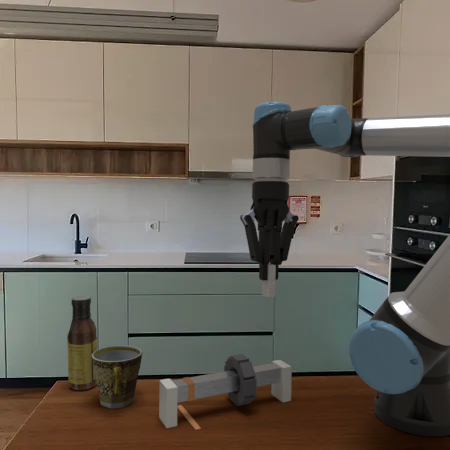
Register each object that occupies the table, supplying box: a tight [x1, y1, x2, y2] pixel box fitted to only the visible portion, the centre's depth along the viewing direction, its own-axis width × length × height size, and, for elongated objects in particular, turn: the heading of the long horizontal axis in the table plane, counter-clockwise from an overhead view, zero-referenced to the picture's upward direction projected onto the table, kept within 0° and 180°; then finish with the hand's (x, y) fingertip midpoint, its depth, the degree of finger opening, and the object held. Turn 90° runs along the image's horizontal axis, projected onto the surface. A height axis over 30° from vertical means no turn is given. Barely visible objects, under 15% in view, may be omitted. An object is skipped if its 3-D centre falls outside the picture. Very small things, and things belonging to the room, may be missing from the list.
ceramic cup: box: [92, 344, 143, 410], centre depth 86 cm, size 13×10×10 cm
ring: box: [223, 353, 258, 407], centre depth 86 cm, size 2×9×9 cm, turn 26°
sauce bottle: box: [66, 295, 98, 391], centre depth 94 cm, size 7×6×20 cm
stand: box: [158, 359, 293, 431], centre depth 85 cm, size 27×10×7 cm, turn 116°
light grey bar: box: [171, 362, 282, 404], centre depth 85 cm, size 25×3×3 cm, turn 116°
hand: (268, 295), depth 88 cm, fingers closed
